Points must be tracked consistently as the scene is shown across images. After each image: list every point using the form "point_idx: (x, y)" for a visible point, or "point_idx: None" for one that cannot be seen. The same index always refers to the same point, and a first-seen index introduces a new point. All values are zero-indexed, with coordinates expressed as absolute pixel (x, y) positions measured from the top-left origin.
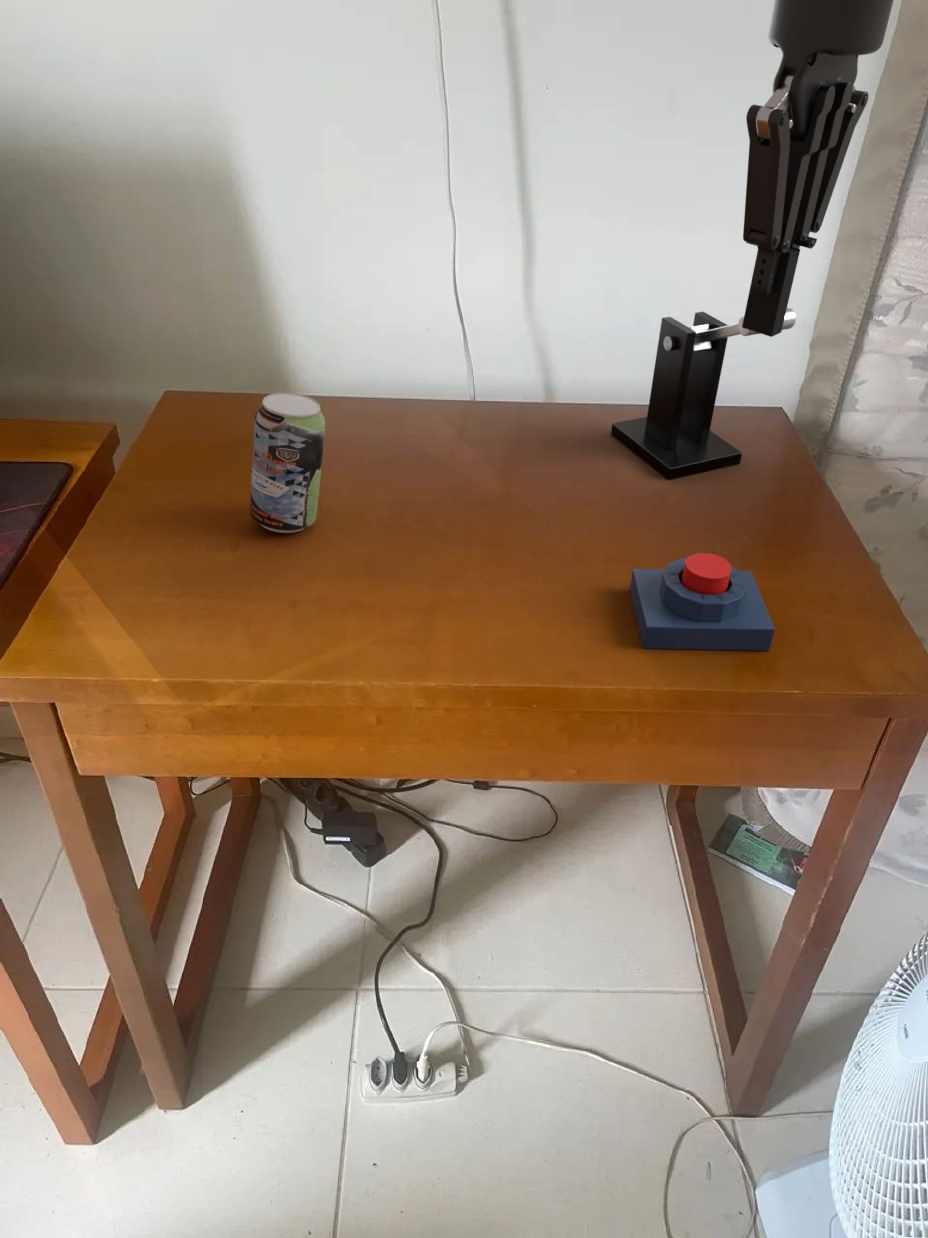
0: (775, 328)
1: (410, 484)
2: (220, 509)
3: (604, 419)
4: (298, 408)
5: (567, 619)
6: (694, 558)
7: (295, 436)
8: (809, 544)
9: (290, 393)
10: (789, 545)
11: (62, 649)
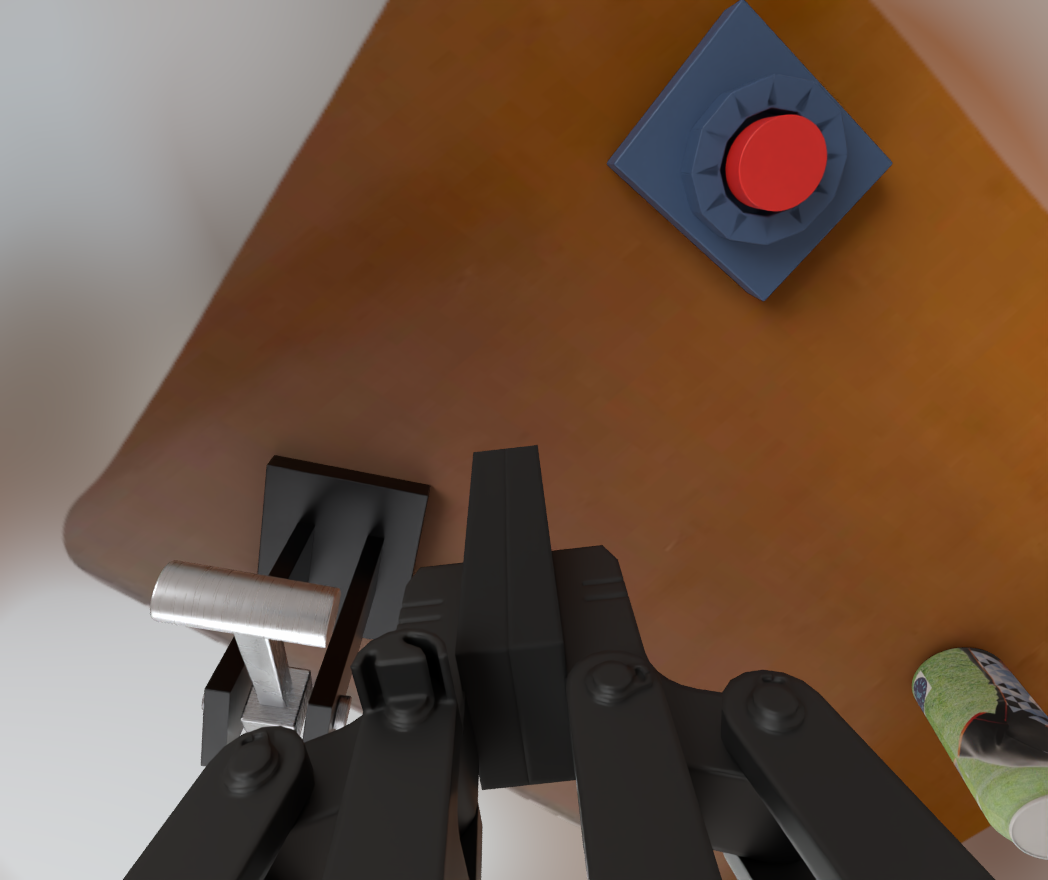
0: (522, 457)
1: (756, 666)
2: None
3: None
4: None
5: (880, 295)
6: (782, 197)
7: None
8: (379, 194)
9: (1027, 852)
10: (414, 216)
11: None
